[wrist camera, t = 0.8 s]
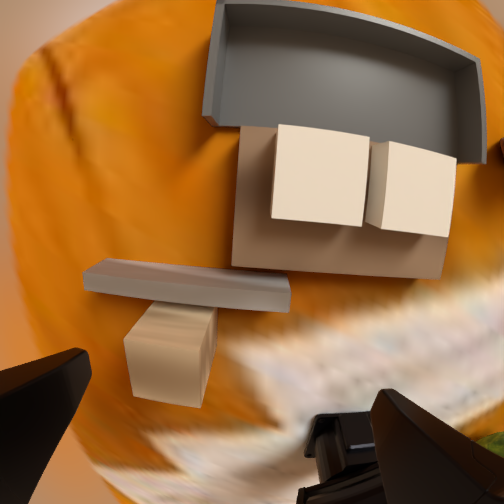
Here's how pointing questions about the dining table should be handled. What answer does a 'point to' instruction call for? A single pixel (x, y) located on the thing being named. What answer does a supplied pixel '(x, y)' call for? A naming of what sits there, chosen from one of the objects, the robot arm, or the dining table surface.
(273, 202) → the tile
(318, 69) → the tray
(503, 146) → the tin
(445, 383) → the dining table surface
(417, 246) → the board
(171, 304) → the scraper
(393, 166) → the tile
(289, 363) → the dining table surface
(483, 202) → the dining table surface
